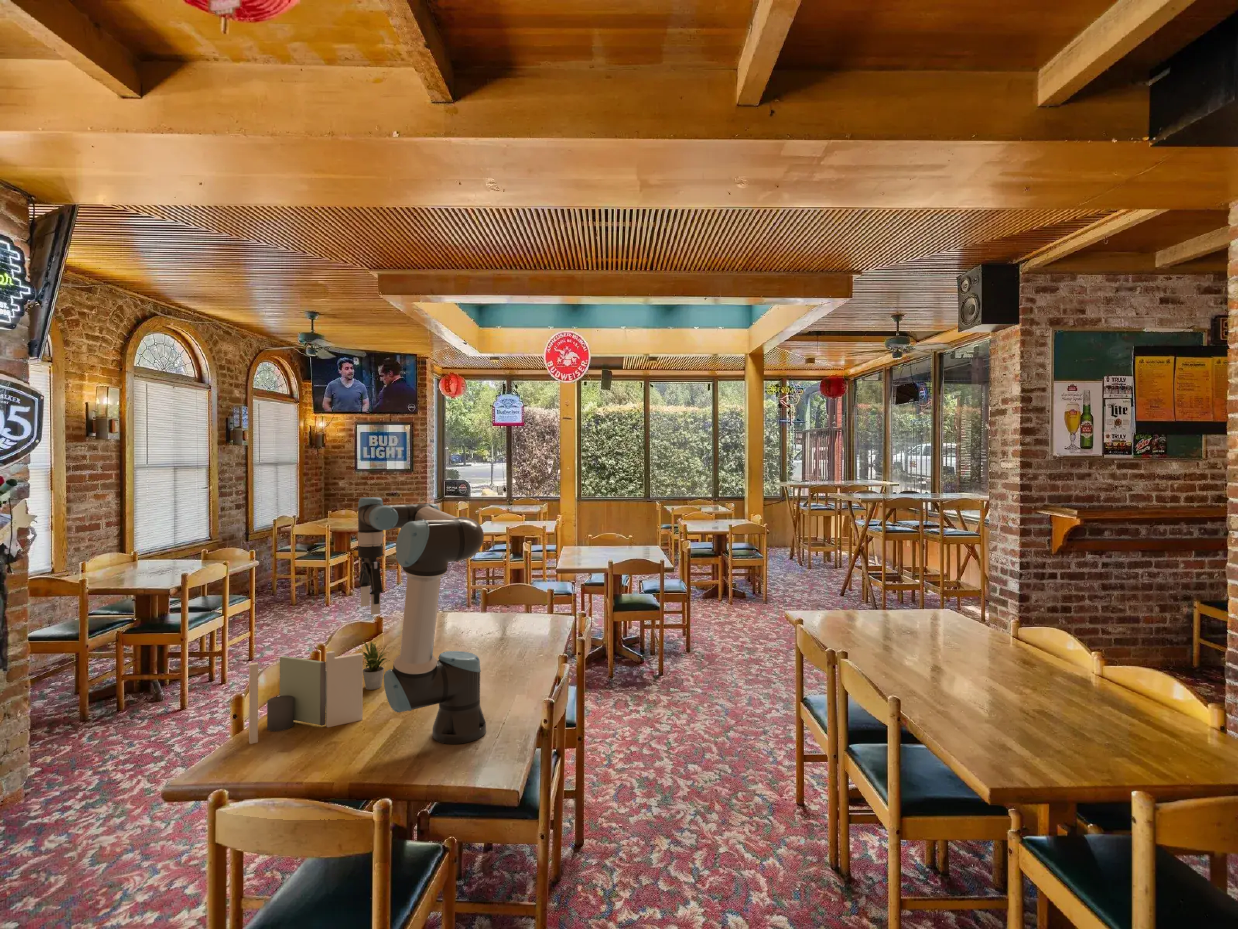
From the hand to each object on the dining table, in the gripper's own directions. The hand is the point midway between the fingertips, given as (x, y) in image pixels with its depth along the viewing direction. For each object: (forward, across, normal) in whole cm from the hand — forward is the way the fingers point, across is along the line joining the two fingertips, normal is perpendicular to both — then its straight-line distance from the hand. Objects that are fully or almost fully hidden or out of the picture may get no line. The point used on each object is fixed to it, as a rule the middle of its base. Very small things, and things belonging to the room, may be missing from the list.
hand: (370, 610), depth 208 cm
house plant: (+31, +17, -4) cm, 35 cm away
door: (+30, -5, +21) cm, 37 cm away
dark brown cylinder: (+31, -3, +26) cm, 41 cm away
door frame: (+31, -11, +20) cm, 38 cm away
